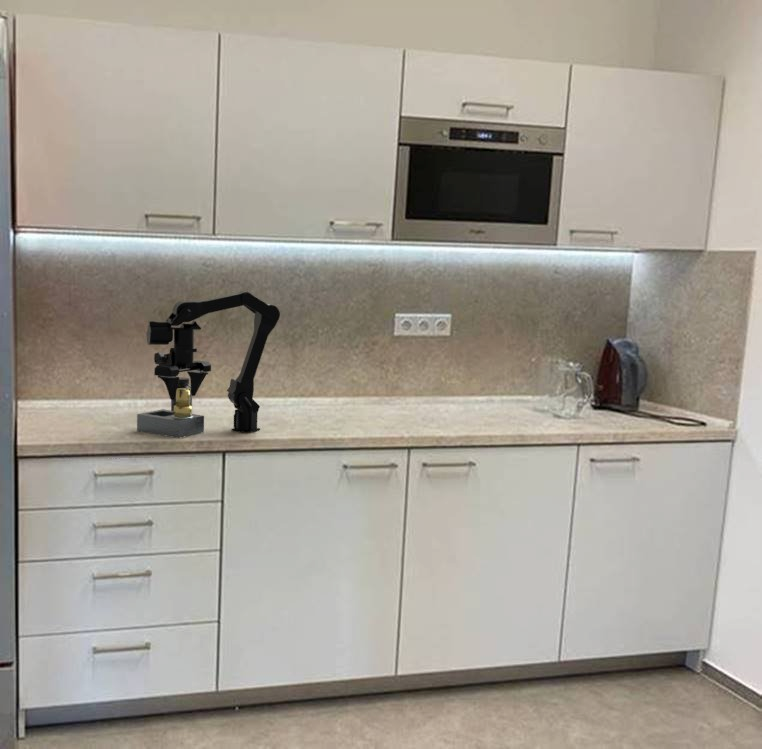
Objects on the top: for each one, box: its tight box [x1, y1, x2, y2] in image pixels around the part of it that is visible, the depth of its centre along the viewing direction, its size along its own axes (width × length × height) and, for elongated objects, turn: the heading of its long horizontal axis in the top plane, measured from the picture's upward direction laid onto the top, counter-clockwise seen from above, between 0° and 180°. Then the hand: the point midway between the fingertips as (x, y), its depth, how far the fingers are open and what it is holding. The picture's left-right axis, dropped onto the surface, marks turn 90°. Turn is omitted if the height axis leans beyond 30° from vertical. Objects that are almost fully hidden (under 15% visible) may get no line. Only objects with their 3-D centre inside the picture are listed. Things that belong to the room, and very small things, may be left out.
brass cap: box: [174, 388, 193, 418], centre depth 254 cm, size 5×5×8 cm
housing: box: [136, 408, 205, 439], centre depth 257 cm, size 16×11×5 cm
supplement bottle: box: [170, 377, 193, 411], centre depth 284 cm, size 7×7×12 cm
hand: (183, 397), depth 254 cm, fingers open, 9 cm apart
